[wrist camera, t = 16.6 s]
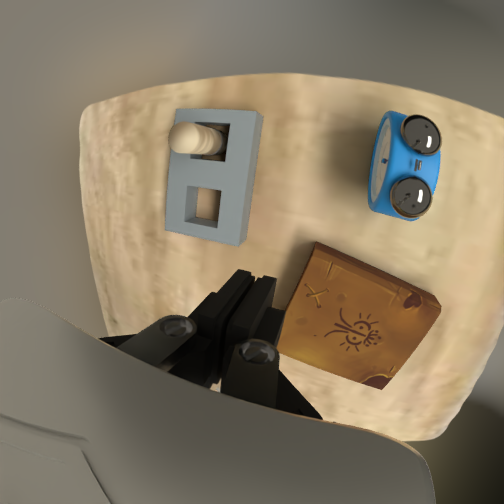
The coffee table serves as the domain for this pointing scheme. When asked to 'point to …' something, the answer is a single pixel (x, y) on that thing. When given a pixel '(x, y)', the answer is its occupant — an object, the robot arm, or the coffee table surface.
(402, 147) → the alarm clock
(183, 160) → the board
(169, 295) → the coffee table surface
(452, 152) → the coffee table surface
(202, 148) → the dowel
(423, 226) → the coffee table surface
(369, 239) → the coffee table surface
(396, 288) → the diary
